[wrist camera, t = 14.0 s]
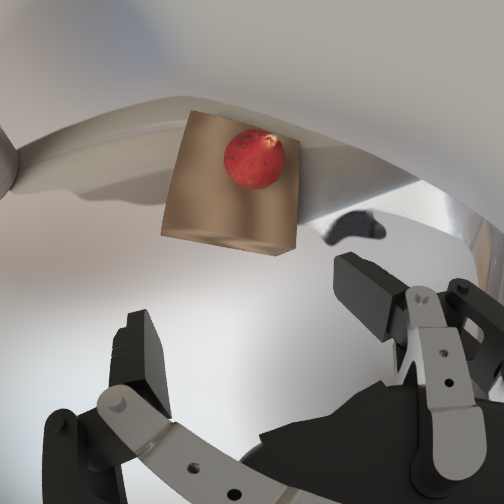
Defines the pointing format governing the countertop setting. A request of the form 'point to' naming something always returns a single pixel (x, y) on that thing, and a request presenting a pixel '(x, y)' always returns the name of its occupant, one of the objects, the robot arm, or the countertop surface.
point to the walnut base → (229, 193)
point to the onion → (254, 159)
